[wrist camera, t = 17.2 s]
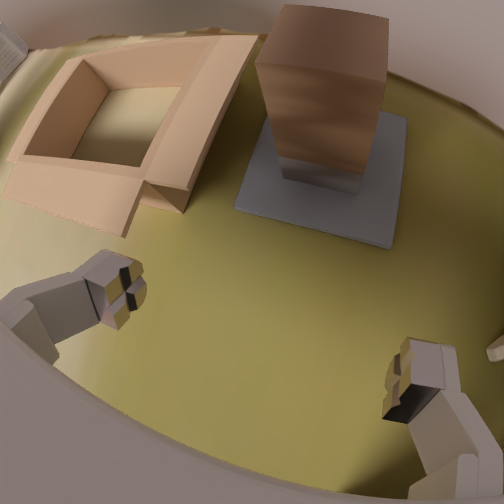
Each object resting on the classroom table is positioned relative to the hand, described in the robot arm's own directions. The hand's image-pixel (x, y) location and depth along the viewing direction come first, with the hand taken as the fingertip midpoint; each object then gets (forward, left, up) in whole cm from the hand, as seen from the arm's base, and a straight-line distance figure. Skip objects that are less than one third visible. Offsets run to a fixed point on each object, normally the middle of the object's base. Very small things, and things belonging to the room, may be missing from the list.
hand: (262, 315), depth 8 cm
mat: (0, +10, -8) cm, 13 cm away
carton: (-15, +8, -8) cm, 19 cm away
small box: (-61, +27, -8) cm, 67 cm away
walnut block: (0, +10, -7) cm, 12 cm away
